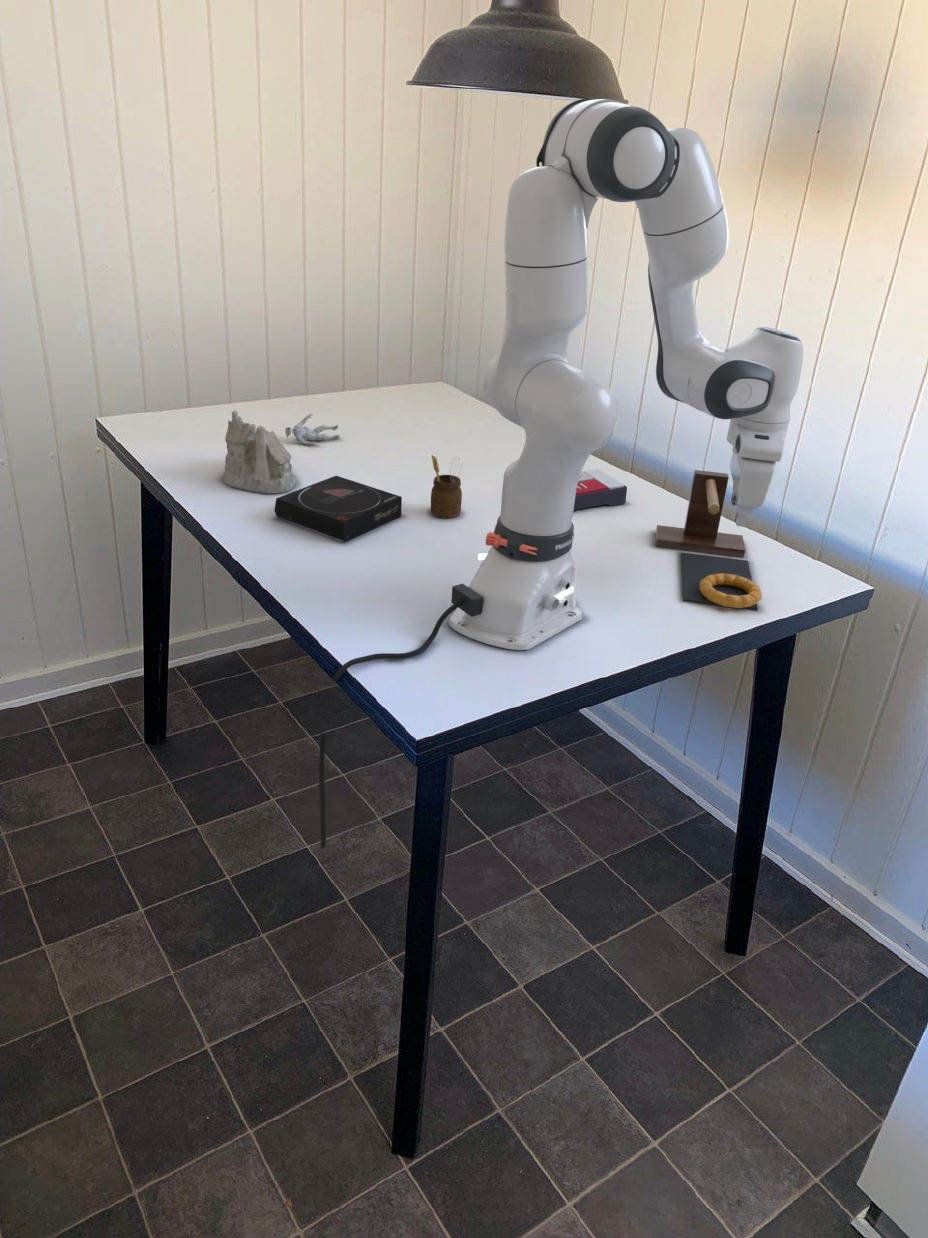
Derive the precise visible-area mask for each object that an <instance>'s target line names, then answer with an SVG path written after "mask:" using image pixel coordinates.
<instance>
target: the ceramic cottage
mask: <svg viewBox="0 0 928 1238" xmlns="http://www.w3.org/2000/svg"><path fill="white" fill-rule="evenodd" d="M224 441H225V443H226V450H227V454H226V455H225V457H224V459H225V465H224V473H223V478H222V480H223V482H224V483H225V484H226V485H228V486H229V487H231V488H235V489H239V490H246V491H249V492H255V493H260V494H268V495H269V494H270V495H271V494H284V493H287V492H289V491H290V490H292V489H293V488H294V487H295V485H296V484H297V479H296V478H295V477H294V476H293V475H292V466H293V465H292V464H291V459H292V454H291V453H290V452H289V450H287V449H286V447H285V446H284V444H283V443H281V441H280V439H279V438H278V436H277V434H276V433H275V431H274V430H271V431H268V430H267V429H266V427H265V426H263V425H258V426H256V424H255V423H249V422H244V421H243V418H242V416H239V412H238V411H237V410H236V409H234V410H232V411H231V420H228V421H227V431H226V433H225V439H224Z"/></svg>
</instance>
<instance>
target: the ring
mask: <svg viewBox="0 0 928 1238" xmlns="http://www.w3.org/2000/svg"><path fill="white" fill-rule="evenodd" d="M719 585H725V586H733V587H736V588H739V589H742V590H744V591H745V592H747V593H748V594H747V595H741V596H736V595H729V594H725V593H722V592H719V591H717V590H715V589H714V588H713V586H719ZM700 592H701V594H702V595H703V596H704V597H706V598H707V599H708V600H709V601H711V602H714V603H716V604H719V605H722V606H721V607H726V608H735V609H742V608H744V607H751V606H753V605H755V604H756V603H757V604H758V603H759V602H761V600H762V598H763V595H762V590H761V588H760V586H759V585H758V584H756V583H755V582H754V581H753V580H752V581H751V580H749V579H746V578H744V577H741V576H738V575H732V574H724V573H720V574H712V575H708V576H707V577H705V578H704V579H702V580H701V581H700ZM719 605H718V606H719Z"/></svg>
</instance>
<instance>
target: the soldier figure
mask: <svg viewBox="0 0 928 1238" xmlns="http://www.w3.org/2000/svg"><path fill="white" fill-rule="evenodd" d="M312 416H314V414H313V413H310V414H308V415H307V416H305V417H304V418H302V420H300V421H299V422H298V423H297V424H295V425H294V426H293V427H289V426H288V427H285V428H284V429H285V430H284V432H285V433H284V434H285V436H286V439H288V438H289V436H291V433H292V435H293V436H294V437H295V439H296V440H297V441H298V442H299V443H300V444H302V445H304V446H318V442H317V441H324V440H325V441H329V440H332V439H334V440H338V439H339V438H340V434H335V435H329V434H326V433H322V432H323V431H327V430H329V431H330V430H332V431H336V430H338V428H339V424H336V425H333V426H331V425H326V424H321V425H319V426H316V427H315V428H314V429H313V428H309V426H304V425H305V424H306V423H307V421H308V419H312ZM320 433H322V434H320Z"/></svg>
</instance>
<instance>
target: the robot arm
mask: <svg viewBox="0 0 928 1238" xmlns="http://www.w3.org/2000/svg"><path fill="white" fill-rule="evenodd" d="M540 164H541V165H540ZM535 165H536V166H535V167H532V168H530V169H527V170H525V171H524V172H522V173H520V174H519V175H518V176H517V177H516V178H515V179H514V180H513V182H512V184H511V186H510V188H509V192H508V197H507V198H508V199H507V205H506V212H505V213H506V214H505V225H504V247H503V248H504V283H505V284H504V285H505V320H504V321H505V322H504V328H503V333H502V338H501V343H500V346H499V350H498V352H497V354H496V355H494V356H493V357H492V358H491V360H490V361H489V363H488V365H487V366H486V369H485V371H484V375H483V381H482V383H483V384H482V387H483V391H484V395H485V397H486V399H487V401H488V402H489V403H490V404H491V405H492V406H493V408H494V409H495V410H496V411H497V412H498V413H499V414H500V415H501V416H502V417H503V418H504V419H505V420H507V421H509V422H510V423H513V424H515V425H516V426H518V427H520V428H522V429H524V434H525V441H524V445H523V448H522V452H521V454H520V456H519V458H518V459H516V460H515V461H513V462H511V463H510V464H509V465H508V466H507V467H506V469H505V470H504V473H503V476H502V477H503V478H502V479H503V480H502V489H501V490H502V491H501V500H500V501H501V502H500V503H501V504H500V513H499V516H498V517H497V520H496V524H495V526H494V529H493V532H491V531H490V532H488V533H487V534H486V536H485V539H484V540H485V542H484V544H485V545H486V546H490V549H489V550H488V552H487V553H478V557H477V560H478V561H482V562H481V563H480V566H479V568H478V569H477V571H476V572H475V575H474V576H473V578H472V580H471V581H470V584H469V586H467V585H466V584H464V583H459V584H455V585H452V586H451V601H450V602H451V604H452V605H450V606H449V607H448V608H447V609H446V610H445V611H444V612H443V613H442V614H441V615H440V617H439V618H438V619H437V621H436V623H435V626H433V627H434V628H433V629H432V632H431V633H430V635H429V636H428V637H427V639H426V640H425V642H423V644H422V645H421V646H420V647H419V648H416V649H414V650H411V651H408V652H401V653H395V652H394V653H393V652H392V653H389V652H387V653H386V652H385V653H383V652H382V653H373V654H368V655H365V656H360V657H356V658H352V659H351V660H348V661H346V662H345V663H344V664H342V665H341V667H340V668H339V669H338V670H337V671H336V672H335V673H334V675H333V677H332V678H331V682H334V683H335V682H337V681H338V680H339V679H340V677H341V676H342V675H343V674H344V673H345V672H346V671H347V670H349V668H350V667H353V666H356V665H358V664H363V663H366V662H371V661H375V660H403V659H404V660H405V659H409V658H410V659H411V658H413V657H417V656H418V655H421V654H422V653H424V652H425V651H426V650H427V649H428V648H429V647H430V645H431V644H432V643H433V641H434V640H435V638H436V637H437V636H438V634H439V631H440V630H441V629H440V628H441V627H442V625H443V623H444V622H445V620H446V619H447V618H448V617H449V615H450V617H449V620H448V625H449V627H450V628H451V629H453V630H454V631H455V632H457V633H459V634H461V635H462V636H465V637H467V638H469V639H471V640H475V641H477V642H480V643H484V644H487V645H490V646H494V647H497V648H502V649H506V650H514V651H528V650H530V649H532V648H534V647H537V646H538V645H539V644H541V643H543V642H545V641H546V640H549V639H550V638H552V637H554V636H555V635H557V634H559V633H560V632H562V631H564V630H566V629H568V628H569V627H571V626H572V625H575V624H576V623H578V622H579V621H581V620H582V619H583V612H582V610H581V609H580V608H579V607H578V606H577V605H576V604H577V584H578V567H577V565H576V563H575V561H574V559H573V557H572V553H571V550H572V547H573V541H574V538H575V531H574V530H575V526H574V522H573V516H574V510H573V509H574V502H575V495H576V489H577V484H578V480H579V476H580V473H581V471H583V469H584V466H585V464H586V463H587V460H588V459H589V458H590V456H591V455H592V453H594V452H595V451H597V450H599V449H600V448H603V446H604V445H606V443H607V442H608V441H609V440H610V439H611V438H612V436H613V435H614V433H615V431H616V429H617V427H618V423H619V419H620V404H619V400H618V398H617V396H616V394H615V393H614V392H613V391H612V390H611V389H610V388H609V387H608V386H607V385H606V384H605V383H604V382H602V381H601V380H600V379H599V378H598V377H596V376H595V375H594V374H592V373H590V372H588V371H585V370H583V369H581V368H579V367H576V366H574V365H572V364H570V363H569V361H568V355H567V353H568V346H569V341H570V338H571V335H572V332H573V331H574V330H575V329H576V328H578V327H579V326H580V325H581V324H582V323H583V322H584V320H585V318H586V316H587V313H588V274H589V273H588V269H589V267H588V260H589V258H588V252H589V251H588V250H589V249H588V229H589V222H590V218H591V215H592V212H593V209H594V207H595V205H596V203H597V202H598V200H599V198H600V199H604V200H606V199H607V200H609V201H611V202H616V203H631V202H634V204H635V205H636V208H637V209H638V215H639V220H640V224H641V229H642V232H643V233H642V234H643V237H644V242H645V245H646V250H647V257H648V264H647V266H648V267H647V280H648V288H649V294H650V301H651V306H652V312H653V318H654V319H653V320H654V325H655V330H656V337H657V356H656V358H657V359H656V366H655V374H656V375H655V377H656V382H657V385H658V387H659V389H660V391H661V392H662V394H664V395H665V396H666V397H667V398H669V399H672V400H675V401H677V402H680V403H683V404H686V405H687V406H690V407H692V408H694V409H696V410H697V411H699V412H702V413H704V414H706V415H708V416H710V417H712V418H716V419H719V420H729V425H728V426H729V427H728V429H727V433H726V434H727V435H726V442H727V443H729V444H731V446H732V449H731V452H732V454H731V458H730V463H729V469H730V474H731V478H732V494H731V498H730V502H731V505H732V506H734V507H738V509H737V512H736V515H735V525H736V526H737V527H743V528H745V527H747V526H748V524H749V523H748V522H749V519H750V516H751V514H752V513H753V510H754V509H755V510H758V509H759V510H760V509H761V508H762V506H763V505H764V503H765V501H766V499H767V495H768V492H769V489H770V486H771V482H772V480H773V477H774V473H775V469H776V464H777V463H780V462H781V461H782V457H783V454H784V444H785V442H786V441H785V440H786V437H787V432H788V429H789V425H790V420H791V405H792V402H793V399H794V398H795V396H796V394H797V391H798V387H799V383H800V379H801V378H800V377H801V374H802V369H803V361H804V346H803V342H802V340H801V339H800V338H799V337H798V336H796V335H794V334H791V333H789V332H786V331H782V330H779V329H776V328H773V327H768V326H761V327H756V328H755V329H754V330H753V332H752V333H751V334H750V335H749V336H748V337H747V338H746V339H744V340H743V341H740V342H739V343H738V344H736V345H733V346H730V347H728V348H725V349H723V348H721V347H718V346H717V345H714V344H712V343H711V342H709V340H707V339H706V338H705V337H704V335H703V334H702V333H701V331H700V330H699V326H698V320H697V312H696V311H697V310H696V303H695V296H694V295H695V294H694V282H695V281H698V280H700V279H701V278H703V277H705V276H707V275H708V274H710V273H711V272H712V271H713V270H715V268H717V266H718V265H719V264H720V263H721V261H722V260H723V258H724V256H725V254H726V253H727V250H728V247H729V225H728V224H729V223H728V218H727V212H726V207H725V203H724V198H723V195H722V190H721V186H720V183H719V178H718V175H717V172H716V170H715V167H714V164H713V160H712V157H711V156H710V153H709V150H708V148H707V146H706V143H705V141H704V139H703V137H701V136H700V134H699V133H697V131H695V130H692V129H690V128H685V127H672V128H667V127H666V126H665V125H664V124H663V122H662V121H661V120H660V119H659V118H658V117H657V116H656V115H655V114H653V113H651V112H650V111H648V110H647V109H645V108H642V107H639V106H634V105H633V106H632V105H629V104H625V103H624V102H621V101H619V100H615V99H608V98H607V99H606V98H601V99H596V98H595V99H594V98H580V99H577V100H574V101H572V102H570V103H568V104H566V105H564V106H562V107H561V108H560V109H559V110H557V112H556V113H555V114H554V116H553V117H552V119H551V120H550V122H549V124H548V125H547V129H546V131H545V134H544V138H543V142H542V145H541V148H540V150H539V152H538V153H537V157H536V162H535ZM319 739H320V740H319V752H318V755H319V756H318V787H319V788H318V790H319V814H320V815H319V817H320V818H319V819H320V848H321V849H324V848H326V846H327V841H326V840H327V820H326V817H327V815H326V793H325V792H326V791H325V789H326V788H325V757H326V755H325V754H326V741H327V734H326V733H325V732H320V738H319Z"/></svg>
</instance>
